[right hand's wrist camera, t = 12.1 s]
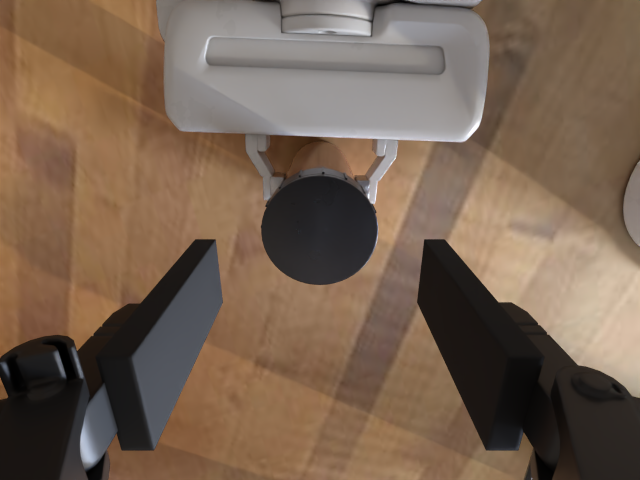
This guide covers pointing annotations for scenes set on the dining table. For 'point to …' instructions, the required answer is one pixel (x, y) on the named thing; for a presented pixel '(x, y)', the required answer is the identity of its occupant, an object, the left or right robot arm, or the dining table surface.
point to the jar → (319, 159)
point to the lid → (319, 226)
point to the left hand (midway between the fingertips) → (319, 200)
